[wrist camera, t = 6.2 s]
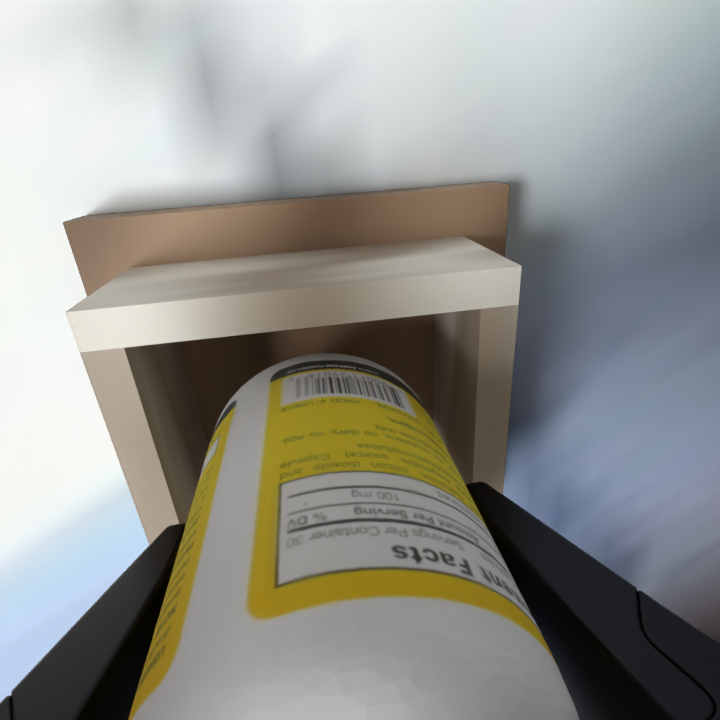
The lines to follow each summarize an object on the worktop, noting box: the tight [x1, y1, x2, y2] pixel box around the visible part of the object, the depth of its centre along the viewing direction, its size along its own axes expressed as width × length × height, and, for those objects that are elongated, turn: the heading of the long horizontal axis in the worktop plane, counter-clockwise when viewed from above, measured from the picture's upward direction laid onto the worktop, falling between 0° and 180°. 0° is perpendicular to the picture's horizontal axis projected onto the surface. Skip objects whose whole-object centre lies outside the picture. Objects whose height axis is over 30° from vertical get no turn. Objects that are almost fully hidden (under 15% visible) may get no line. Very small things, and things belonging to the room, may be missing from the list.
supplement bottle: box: [128, 353, 580, 720], centre depth 7 cm, size 5×5×10 cm
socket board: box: [63, 182, 522, 545], centre depth 13 cm, size 11×11×5 cm
